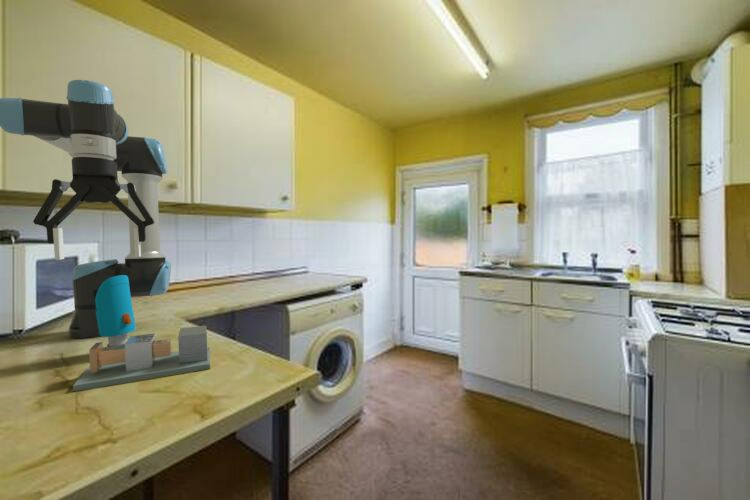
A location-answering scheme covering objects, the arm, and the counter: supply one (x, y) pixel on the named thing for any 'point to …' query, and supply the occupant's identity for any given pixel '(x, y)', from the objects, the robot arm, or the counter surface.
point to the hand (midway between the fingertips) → (100, 258)
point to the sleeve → (139, 352)
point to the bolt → (122, 353)
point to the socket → (192, 344)
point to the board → (137, 372)
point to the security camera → (114, 310)
